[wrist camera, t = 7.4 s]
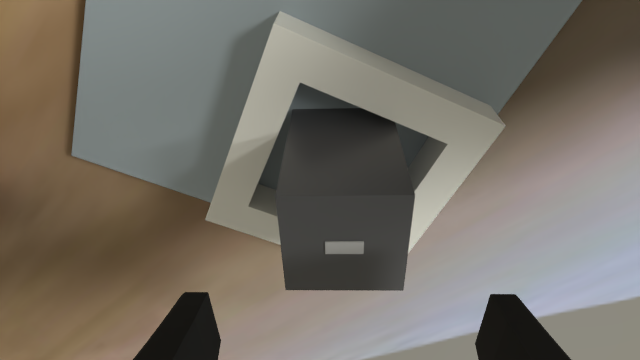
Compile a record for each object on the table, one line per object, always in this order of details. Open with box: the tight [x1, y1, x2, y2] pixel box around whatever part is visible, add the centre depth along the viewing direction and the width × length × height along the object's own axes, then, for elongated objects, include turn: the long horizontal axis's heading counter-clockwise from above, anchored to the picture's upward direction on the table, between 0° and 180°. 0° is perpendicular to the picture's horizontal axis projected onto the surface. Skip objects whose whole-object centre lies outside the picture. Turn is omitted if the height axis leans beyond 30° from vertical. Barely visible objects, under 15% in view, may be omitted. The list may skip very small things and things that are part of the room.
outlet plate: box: [71, 0, 582, 253], centre depth 15 cm, size 16×16×3 cm
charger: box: [275, 108, 415, 290], centre depth 15 cm, size 4×4×6 cm
